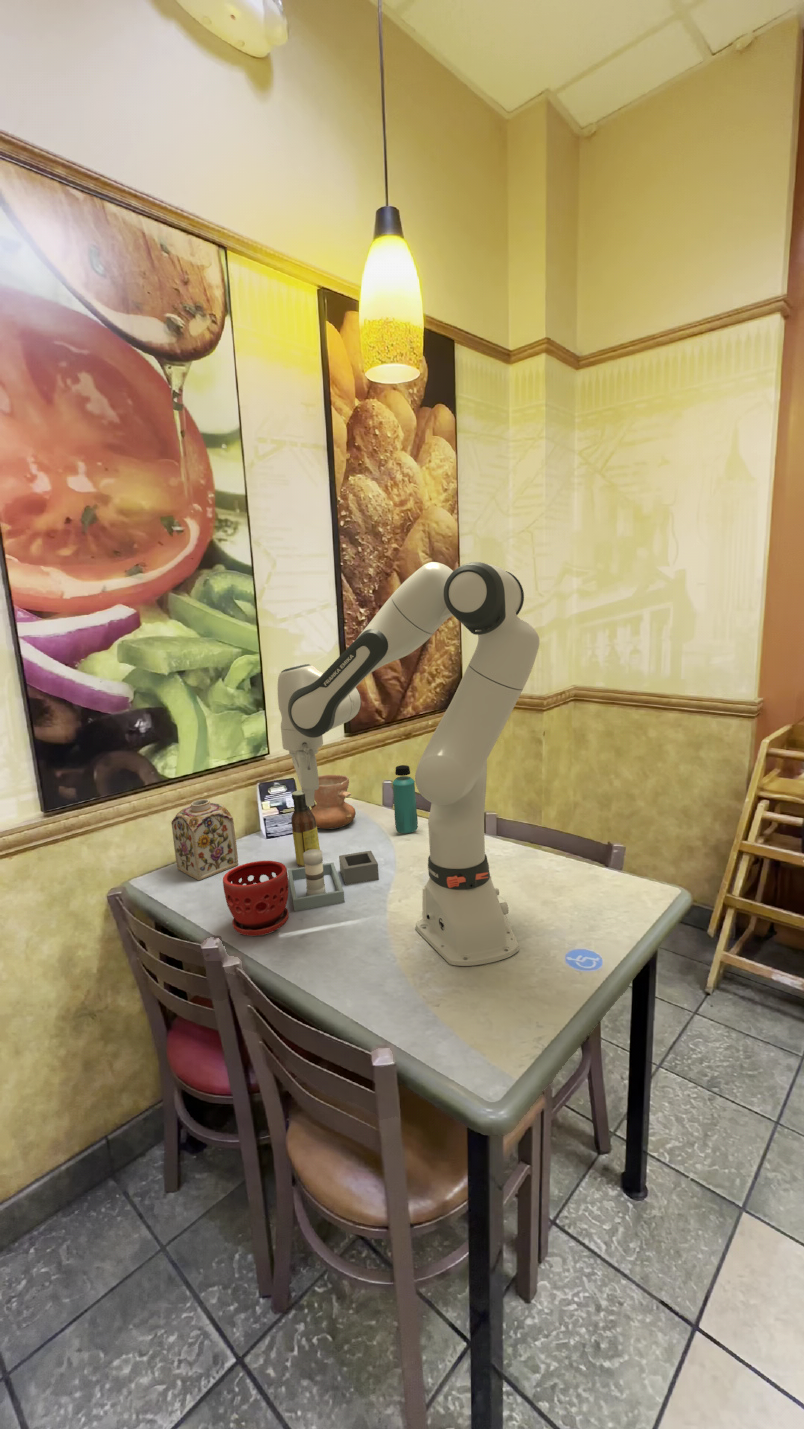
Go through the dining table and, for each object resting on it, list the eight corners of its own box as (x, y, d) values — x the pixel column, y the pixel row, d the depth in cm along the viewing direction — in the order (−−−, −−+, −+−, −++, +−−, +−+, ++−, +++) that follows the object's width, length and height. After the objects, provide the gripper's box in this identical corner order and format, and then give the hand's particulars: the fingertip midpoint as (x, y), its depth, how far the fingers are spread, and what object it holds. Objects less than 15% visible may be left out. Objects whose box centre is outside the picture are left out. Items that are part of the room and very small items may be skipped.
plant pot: (303, 913, 132) (298, 861, 130) (268, 946, 120) (262, 889, 118) (253, 905, 137) (247, 855, 135) (215, 935, 125) (208, 881, 123)
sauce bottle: (323, 860, 158) (317, 787, 155) (318, 871, 152) (311, 795, 148) (299, 861, 159) (292, 788, 155) (292, 871, 153) (285, 796, 149)
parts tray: (345, 906, 134) (343, 891, 133) (294, 915, 131) (293, 900, 131) (334, 875, 149) (333, 862, 149) (289, 883, 147) (287, 869, 146)
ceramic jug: (369, 822, 184) (365, 776, 181) (333, 837, 173) (329, 789, 171) (329, 812, 196) (325, 769, 193) (293, 825, 185) (289, 780, 183)
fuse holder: (379, 883, 144) (377, 863, 143) (345, 889, 142) (344, 869, 141) (372, 869, 151) (370, 850, 151) (340, 874, 150) (338, 855, 149)
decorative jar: (240, 865, 158) (232, 799, 155) (198, 882, 150) (189, 813, 147) (216, 854, 167) (208, 791, 163) (176, 869, 158) (167, 803, 155)
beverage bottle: (422, 835, 171) (418, 767, 167) (400, 840, 169) (395, 770, 165) (413, 828, 177) (409, 761, 173) (391, 832, 175) (387, 765, 171)
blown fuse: (326, 896, 137) (323, 855, 135) (308, 900, 136) (304, 858, 134) (324, 888, 141) (320, 848, 139) (306, 891, 140) (302, 851, 138)
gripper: (322, 747, 124) (328, 811, 127) (311, 728, 144) (316, 784, 146) (291, 750, 123) (298, 815, 125) (284, 731, 142) (290, 788, 145)
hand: (308, 798), depth 136 cm, fingers open, 8 cm apart
